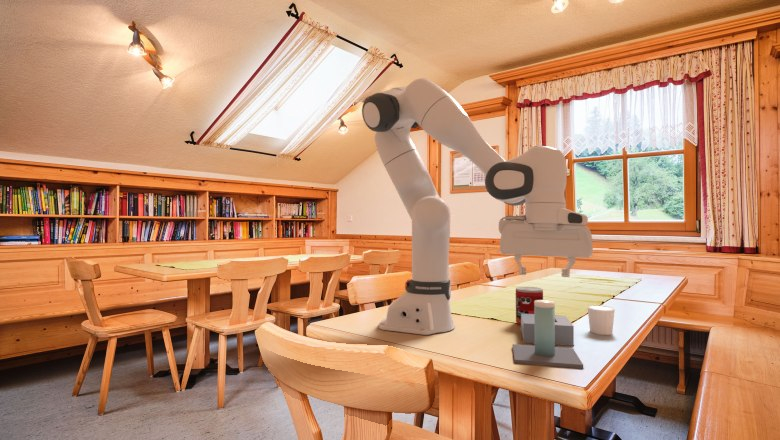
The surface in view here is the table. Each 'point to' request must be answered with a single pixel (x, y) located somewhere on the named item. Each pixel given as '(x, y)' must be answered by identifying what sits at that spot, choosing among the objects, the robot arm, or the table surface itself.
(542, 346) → the cylinder
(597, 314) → the white cup
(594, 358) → the table surface
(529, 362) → the mat
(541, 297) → the canned food
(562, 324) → the block
